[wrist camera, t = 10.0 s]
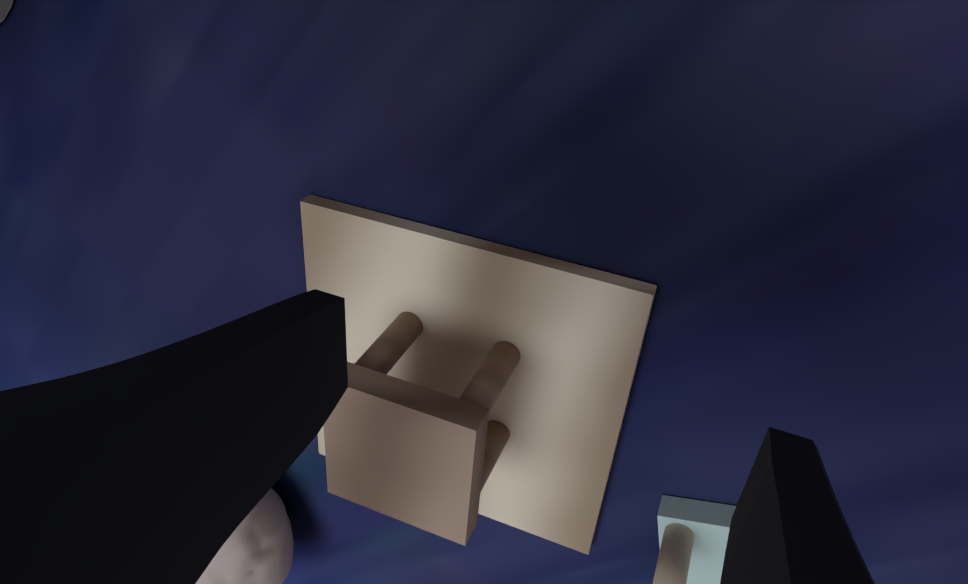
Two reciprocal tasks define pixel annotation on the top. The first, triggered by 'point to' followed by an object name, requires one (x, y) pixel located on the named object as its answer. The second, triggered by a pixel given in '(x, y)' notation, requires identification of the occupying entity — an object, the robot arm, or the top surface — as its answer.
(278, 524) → the garlic bulb
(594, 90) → the top surface
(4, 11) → the thermos bottle
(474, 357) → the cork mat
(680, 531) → the upturned stool
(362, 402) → the stool
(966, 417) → the top surface
